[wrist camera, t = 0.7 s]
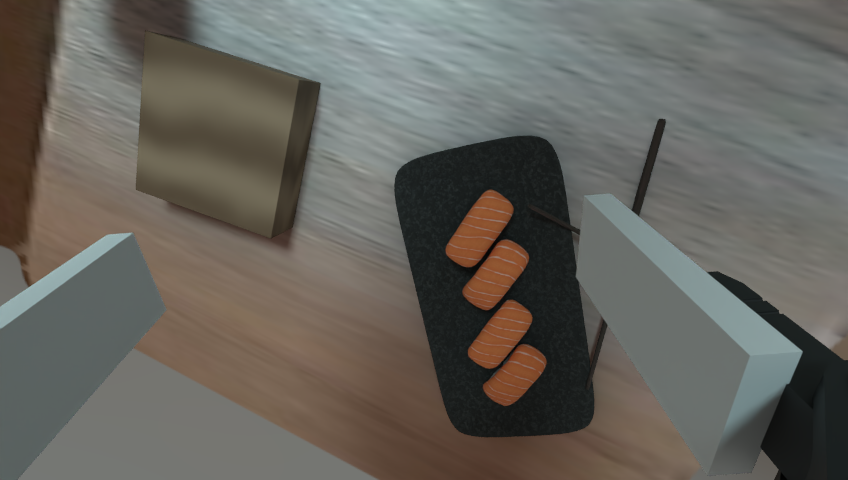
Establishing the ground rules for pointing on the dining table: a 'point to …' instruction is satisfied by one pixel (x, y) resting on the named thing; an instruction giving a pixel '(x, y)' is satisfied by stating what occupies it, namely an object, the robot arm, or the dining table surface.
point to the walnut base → (223, 134)
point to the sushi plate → (502, 284)
